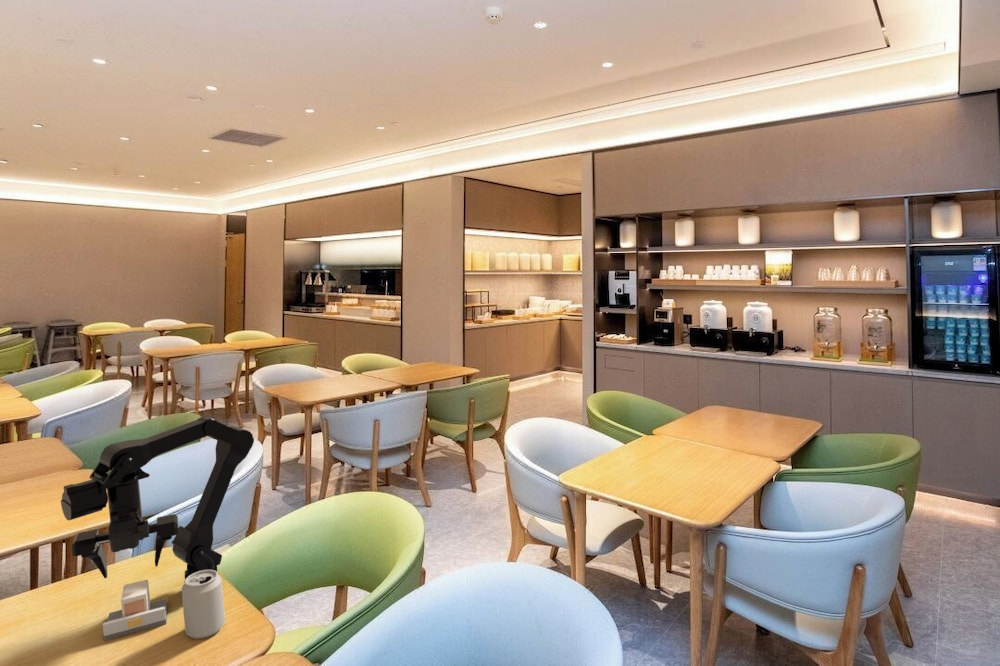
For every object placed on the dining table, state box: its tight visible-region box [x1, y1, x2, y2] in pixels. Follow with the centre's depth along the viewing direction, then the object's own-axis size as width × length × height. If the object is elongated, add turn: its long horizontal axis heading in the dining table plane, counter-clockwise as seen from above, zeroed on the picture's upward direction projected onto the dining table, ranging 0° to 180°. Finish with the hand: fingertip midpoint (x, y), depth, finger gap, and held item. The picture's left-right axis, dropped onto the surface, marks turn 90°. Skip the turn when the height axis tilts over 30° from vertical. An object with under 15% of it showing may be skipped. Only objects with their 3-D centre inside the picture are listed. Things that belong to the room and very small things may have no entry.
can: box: [181, 570, 226, 640], centre depth 119 cm, size 8×8×12 cm
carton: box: [120, 579, 151, 617], centre depth 123 cm, size 7×4×6 cm
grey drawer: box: [102, 598, 168, 642], centre depth 123 cm, size 11×9×4 cm
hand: (131, 571), depth 123 cm, fingers open, 9 cm apart
